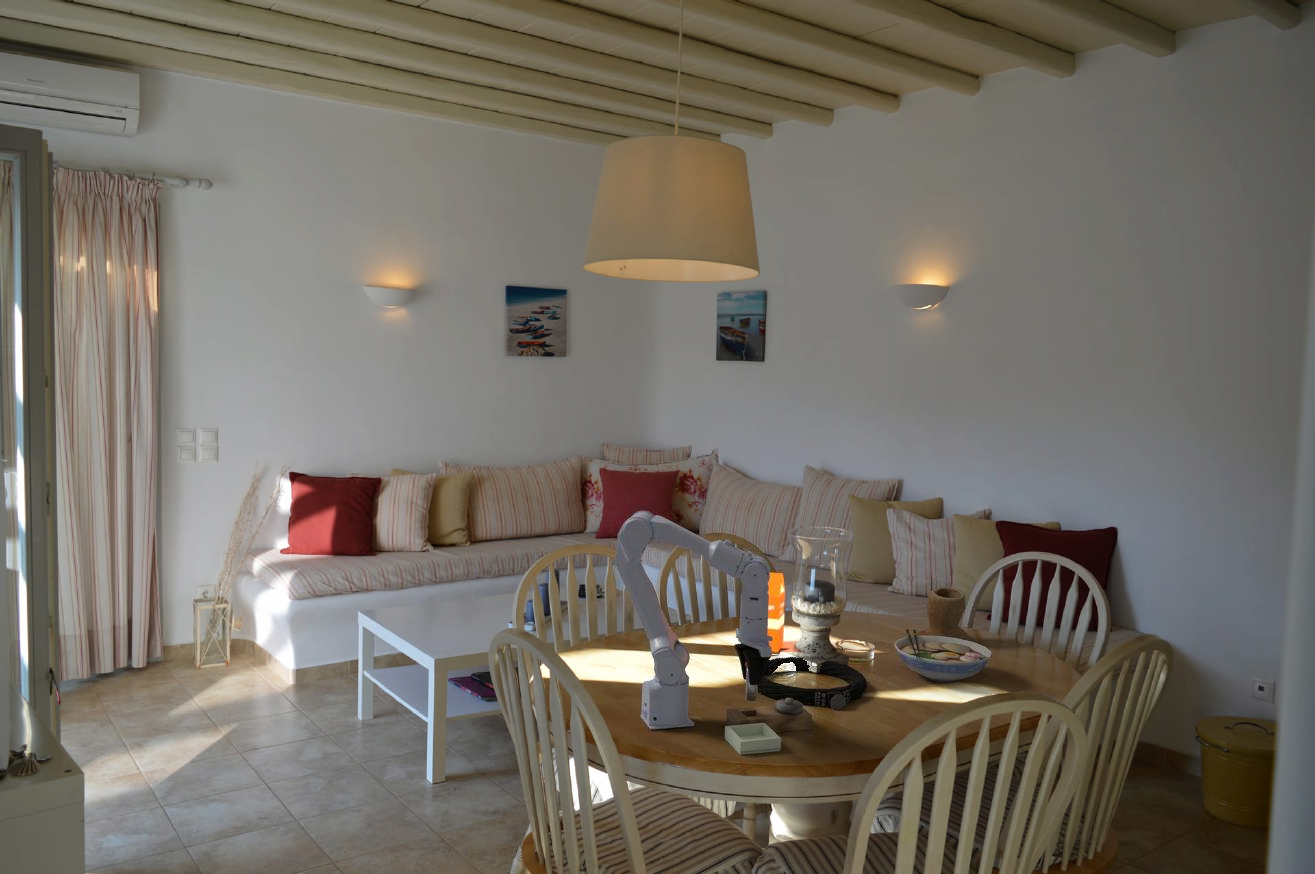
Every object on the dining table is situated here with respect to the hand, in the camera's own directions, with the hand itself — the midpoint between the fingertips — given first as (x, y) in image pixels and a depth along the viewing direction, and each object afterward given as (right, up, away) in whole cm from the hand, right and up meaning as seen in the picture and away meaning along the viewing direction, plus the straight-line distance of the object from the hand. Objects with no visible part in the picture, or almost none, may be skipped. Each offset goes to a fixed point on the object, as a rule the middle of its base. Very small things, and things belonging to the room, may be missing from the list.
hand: (751, 681), depth 202 cm
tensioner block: (+4, -10, +2) cm, 10 cm away
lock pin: (0, -4, 0) cm, 4 cm away
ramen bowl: (+49, -9, +37) cm, 63 cm away
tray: (-1, -10, -8) cm, 13 cm away
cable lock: (+16, -9, +27) cm, 33 cm away
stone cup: (+60, -7, +69) cm, 92 cm away
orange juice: (+9, -6, +61) cm, 62 cm away
